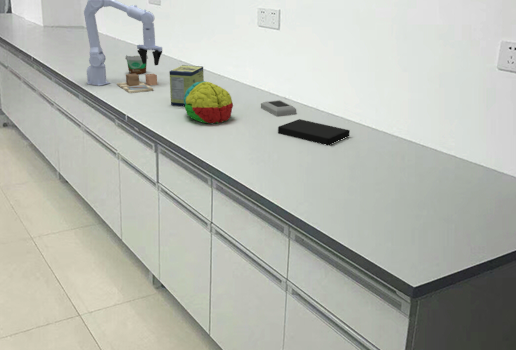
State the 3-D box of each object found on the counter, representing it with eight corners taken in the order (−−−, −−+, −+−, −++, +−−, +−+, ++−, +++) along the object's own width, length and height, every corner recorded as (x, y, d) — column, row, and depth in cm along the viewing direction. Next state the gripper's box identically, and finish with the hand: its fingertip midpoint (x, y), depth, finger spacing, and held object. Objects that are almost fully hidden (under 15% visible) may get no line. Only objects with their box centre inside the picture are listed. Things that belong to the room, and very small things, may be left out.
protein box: (204, 99, 280) (203, 66, 274) (192, 107, 266) (191, 72, 260) (183, 97, 282) (182, 64, 277) (170, 105, 268) (168, 71, 263)
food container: (127, 75, 328) (125, 57, 324) (126, 73, 333) (125, 55, 330) (149, 74, 331) (148, 56, 327) (148, 72, 336) (147, 54, 333)
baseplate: (117, 85, 305) (116, 73, 303) (139, 82, 311) (139, 71, 309) (129, 93, 289) (128, 80, 287) (153, 90, 295) (152, 78, 293)
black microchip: (328, 146, 217) (329, 138, 216) (277, 134, 231) (278, 126, 230) (349, 137, 228) (349, 129, 227) (299, 126, 241) (299, 118, 240)
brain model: (173, 113, 255) (173, 78, 249) (212, 107, 265) (212, 73, 259) (200, 129, 237) (200, 92, 231) (241, 122, 247) (242, 87, 241)
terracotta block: (145, 84, 309) (145, 74, 307) (154, 83, 311) (153, 73, 309) (148, 85, 305) (148, 75, 303) (157, 84, 307) (156, 75, 306)
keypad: (280, 98, 268) (296, 106, 256) (279, 106, 270) (296, 114, 257) (260, 100, 264) (276, 108, 252) (260, 108, 266) (276, 117, 253)
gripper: (132, 37, 300) (134, 64, 304) (155, 39, 293) (157, 67, 298) (141, 35, 305) (143, 62, 310) (164, 37, 299) (165, 64, 304)
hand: (150, 64), depth 304 cm, fingers open, 7 cm apart
